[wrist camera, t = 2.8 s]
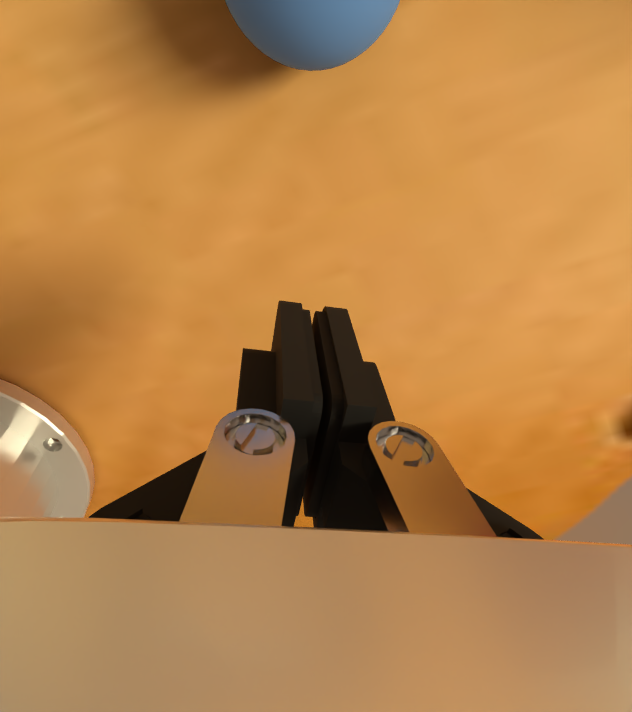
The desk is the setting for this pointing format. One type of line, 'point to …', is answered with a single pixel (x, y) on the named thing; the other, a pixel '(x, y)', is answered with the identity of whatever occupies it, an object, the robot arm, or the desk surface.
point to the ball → (312, 28)
